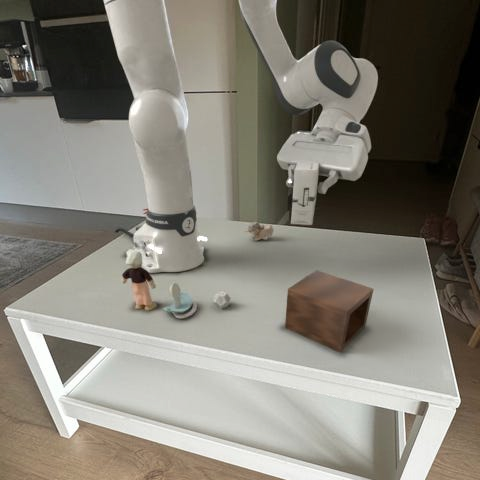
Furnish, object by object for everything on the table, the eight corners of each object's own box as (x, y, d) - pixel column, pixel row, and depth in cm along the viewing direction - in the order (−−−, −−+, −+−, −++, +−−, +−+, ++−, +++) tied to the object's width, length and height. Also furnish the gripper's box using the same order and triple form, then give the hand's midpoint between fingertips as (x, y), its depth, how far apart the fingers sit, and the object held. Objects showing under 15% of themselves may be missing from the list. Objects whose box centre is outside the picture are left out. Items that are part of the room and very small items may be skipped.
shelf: (284, 327, 72) (287, 288, 67) (312, 307, 78) (316, 269, 73) (340, 352, 65) (347, 311, 60) (365, 328, 71) (373, 288, 66)
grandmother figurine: (163, 302, 80) (155, 248, 73) (158, 311, 77) (149, 255, 70) (129, 300, 81) (118, 246, 74) (123, 310, 78) (110, 254, 70)
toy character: (251, 242, 113) (243, 224, 111) (275, 233, 110) (268, 215, 108) (249, 247, 110) (241, 229, 107) (273, 238, 107) (266, 220, 104)
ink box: (294, 211, 88) (297, 159, 81) (315, 212, 87) (320, 159, 80) (290, 224, 81) (293, 168, 74) (312, 225, 80) (318, 169, 73)
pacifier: (202, 305, 79) (177, 300, 81) (201, 280, 75) (175, 275, 77) (186, 323, 73) (160, 317, 75) (184, 297, 70) (157, 291, 71)
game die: (218, 300, 81) (217, 288, 79) (233, 303, 79) (233, 291, 77) (210, 308, 78) (209, 295, 76) (226, 311, 77) (225, 299, 75)
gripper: (288, 120, 84) (261, 173, 83) (373, 127, 73) (343, 188, 72) (297, 140, 89) (272, 189, 89) (378, 148, 78) (349, 205, 77)
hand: (304, 188), depth 80 cm, fingers closed on ink box, 6 cm apart
